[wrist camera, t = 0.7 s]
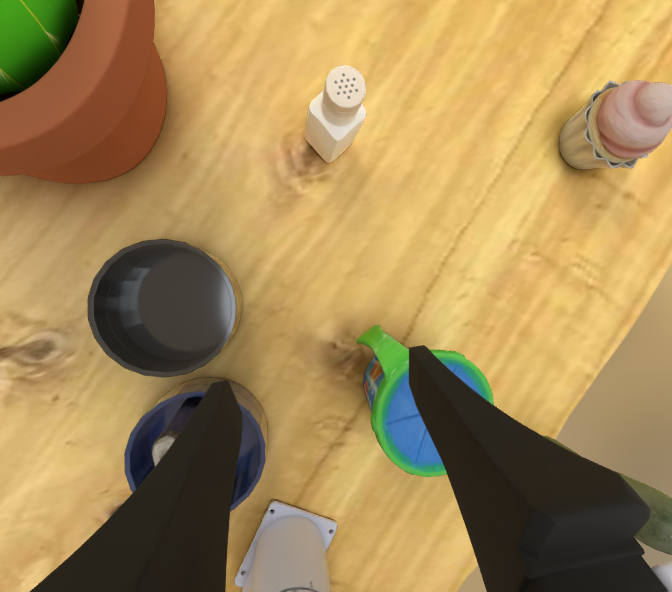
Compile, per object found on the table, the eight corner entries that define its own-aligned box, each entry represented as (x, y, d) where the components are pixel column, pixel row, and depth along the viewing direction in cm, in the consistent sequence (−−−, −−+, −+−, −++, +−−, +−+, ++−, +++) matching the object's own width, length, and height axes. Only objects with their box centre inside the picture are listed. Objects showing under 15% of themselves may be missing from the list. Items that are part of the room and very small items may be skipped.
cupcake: (605, 190, 40) (711, 160, 30) (540, 173, 38) (630, 135, 28) (619, 115, 40) (730, 60, 30) (554, 94, 38) (650, 29, 28)
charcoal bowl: (211, 382, 33) (200, 397, 29) (92, 334, 31) (61, 343, 27) (262, 277, 33) (259, 277, 29) (147, 223, 31) (125, 214, 27)
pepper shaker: (327, 167, 34) (345, 124, 25) (301, 137, 33) (309, 81, 24) (354, 142, 34) (381, 90, 25) (328, 112, 34) (346, 47, 24)
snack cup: (463, 409, 38) (528, 455, 28) (388, 460, 37) (428, 527, 27) (401, 295, 36) (447, 301, 26) (320, 344, 35) (336, 371, 25)
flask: (237, 469, 34) (217, 555, 23) (210, 481, 33) (176, 574, 23) (204, 389, 33) (167, 440, 22) (176, 400, 32) (124, 457, 22)
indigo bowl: (237, 505, 34) (231, 539, 30) (124, 467, 32) (99, 497, 28) (286, 402, 34) (287, 421, 30) (177, 358, 32) (161, 371, 28)
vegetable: (513, 459, 39) (745, 637, 20) (508, 425, 39) (738, 572, 19) (544, 449, 40) (799, 612, 20) (540, 416, 40) (793, 549, 20)
